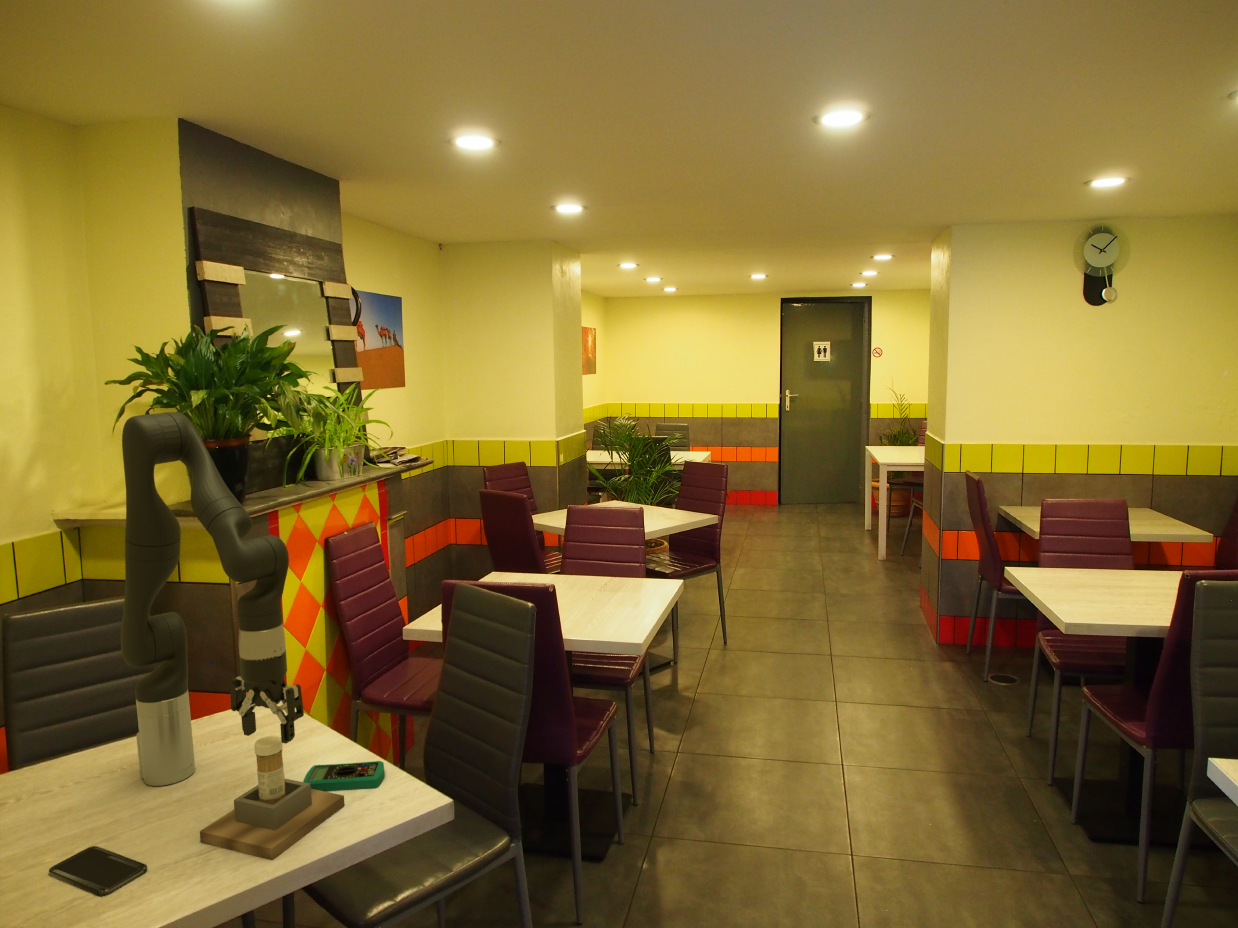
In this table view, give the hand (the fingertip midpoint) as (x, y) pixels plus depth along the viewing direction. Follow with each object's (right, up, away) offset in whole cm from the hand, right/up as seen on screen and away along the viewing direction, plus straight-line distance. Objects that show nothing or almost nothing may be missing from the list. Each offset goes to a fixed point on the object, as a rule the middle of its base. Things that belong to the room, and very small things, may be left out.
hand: (268, 737), depth 147 cm
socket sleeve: (0, -14, +2) cm, 14 cm away
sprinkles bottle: (0, -14, +2) cm, 14 cm away
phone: (-23, -19, -11) cm, 32 cm away
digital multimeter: (+8, -15, +16) cm, 24 cm away
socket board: (0, -16, +2) cm, 16 cm away
